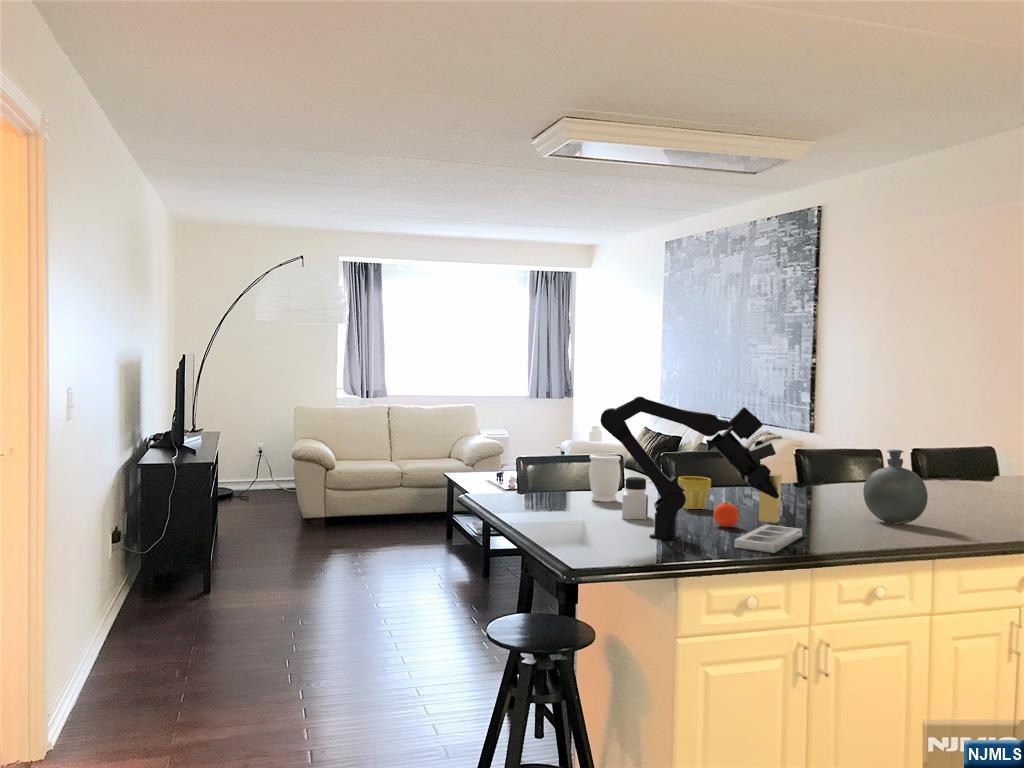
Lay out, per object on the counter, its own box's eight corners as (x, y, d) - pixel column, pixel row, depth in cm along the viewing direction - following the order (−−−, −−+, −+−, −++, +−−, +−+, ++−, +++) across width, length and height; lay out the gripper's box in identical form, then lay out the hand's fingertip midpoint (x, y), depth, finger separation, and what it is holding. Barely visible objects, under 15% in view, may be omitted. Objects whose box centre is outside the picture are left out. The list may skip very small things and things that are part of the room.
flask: (883, 517, 262) (885, 446, 262) (932, 527, 247) (934, 451, 246) (856, 520, 257) (858, 447, 256) (905, 530, 242) (907, 453, 241)
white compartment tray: (774, 553, 208) (774, 544, 208) (734, 547, 214) (734, 539, 214) (802, 536, 230) (802, 528, 230) (765, 531, 236) (765, 524, 236)
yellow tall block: (776, 522, 219) (778, 476, 219) (758, 520, 221) (760, 474, 221) (779, 520, 223) (781, 474, 223) (762, 518, 225) (763, 473, 225)
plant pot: (717, 510, 269) (717, 479, 269) (689, 512, 265) (689, 480, 265) (698, 505, 279) (699, 475, 279) (671, 506, 275) (671, 476, 275)
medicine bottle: (646, 520, 250) (647, 479, 249) (622, 519, 251) (622, 478, 251) (647, 516, 257) (648, 476, 256) (623, 514, 258) (624, 475, 258)
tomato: (721, 523, 247) (722, 499, 247) (744, 526, 243) (744, 501, 242) (708, 527, 241) (709, 502, 241) (731, 530, 236) (732, 505, 236)
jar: (582, 498, 288) (583, 454, 287) (609, 497, 292) (610, 453, 292) (599, 503, 278) (600, 457, 278) (625, 502, 283) (626, 457, 282)
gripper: (763, 433, 213) (807, 479, 212) (751, 428, 231) (791, 470, 230) (730, 463, 214) (773, 509, 213) (720, 456, 232) (760, 498, 231)
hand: (775, 495), depth 222 cm, fingers closed on yellow tall block, 6 cm apart
